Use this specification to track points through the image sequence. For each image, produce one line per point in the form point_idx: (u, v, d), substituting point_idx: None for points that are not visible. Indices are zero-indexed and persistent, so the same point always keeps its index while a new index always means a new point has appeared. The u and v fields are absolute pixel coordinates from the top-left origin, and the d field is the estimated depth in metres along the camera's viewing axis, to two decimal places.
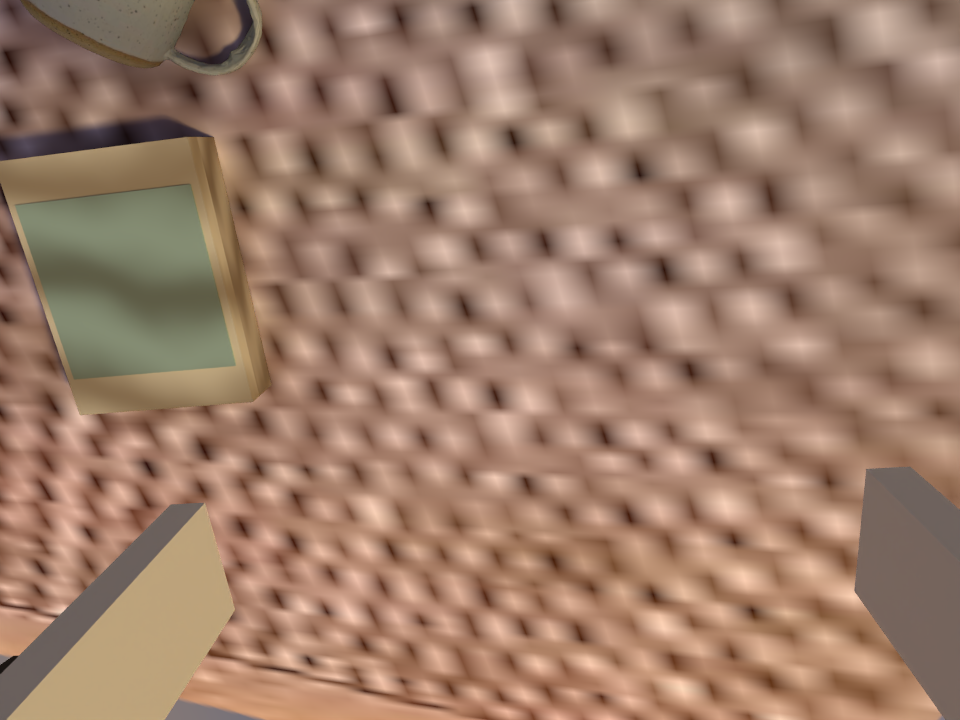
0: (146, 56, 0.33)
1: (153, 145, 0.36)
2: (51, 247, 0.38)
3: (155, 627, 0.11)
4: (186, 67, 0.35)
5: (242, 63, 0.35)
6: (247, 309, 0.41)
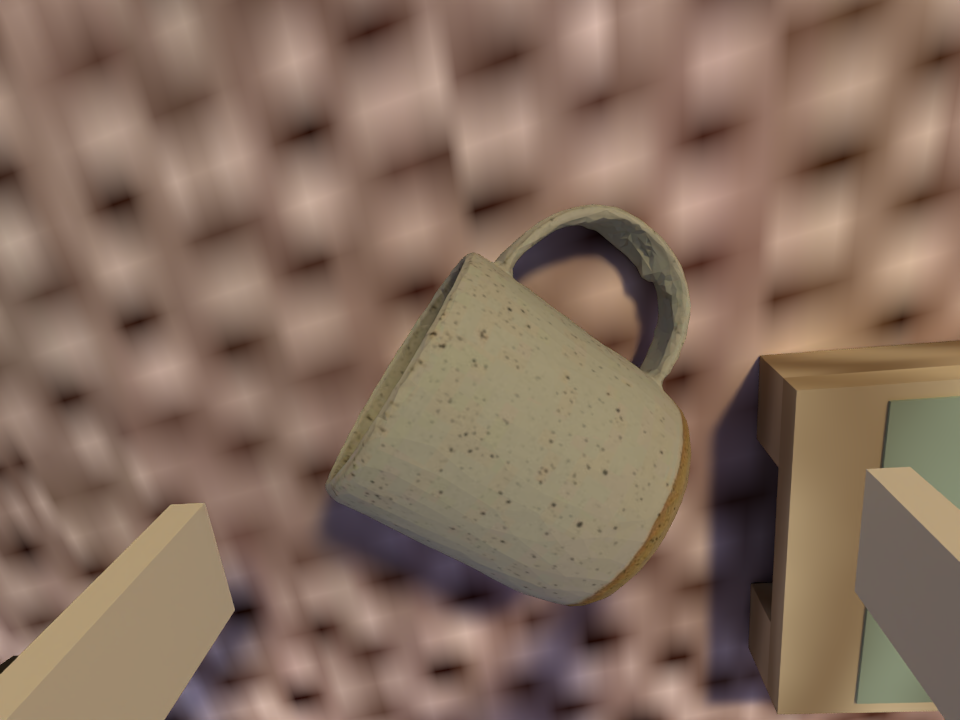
0: (677, 414, 0.17)
1: (800, 456, 0.18)
2: None
3: (155, 627, 0.11)
4: (677, 354, 0.18)
5: (671, 252, 0.18)
6: None
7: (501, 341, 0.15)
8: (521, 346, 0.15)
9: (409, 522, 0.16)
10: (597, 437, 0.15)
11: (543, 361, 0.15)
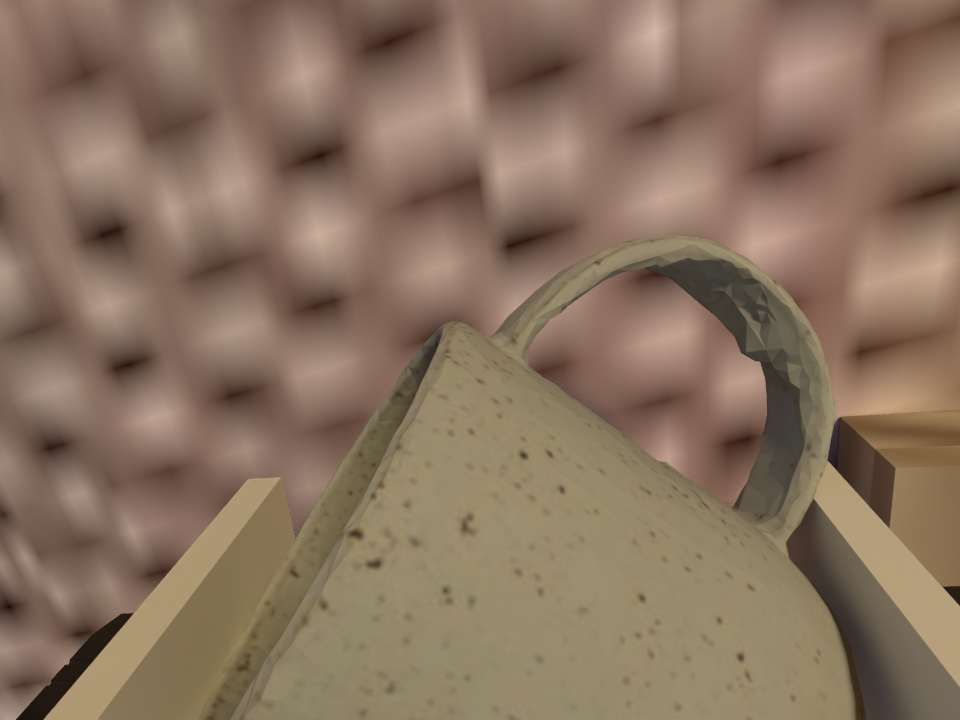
0: (832, 626, 0.09)
1: None
2: None
3: (246, 590, 0.12)
4: (812, 492, 0.11)
5: (803, 317, 0.11)
6: None
7: (504, 536, 0.07)
8: (549, 539, 0.07)
9: None
10: None
11: (593, 568, 0.07)
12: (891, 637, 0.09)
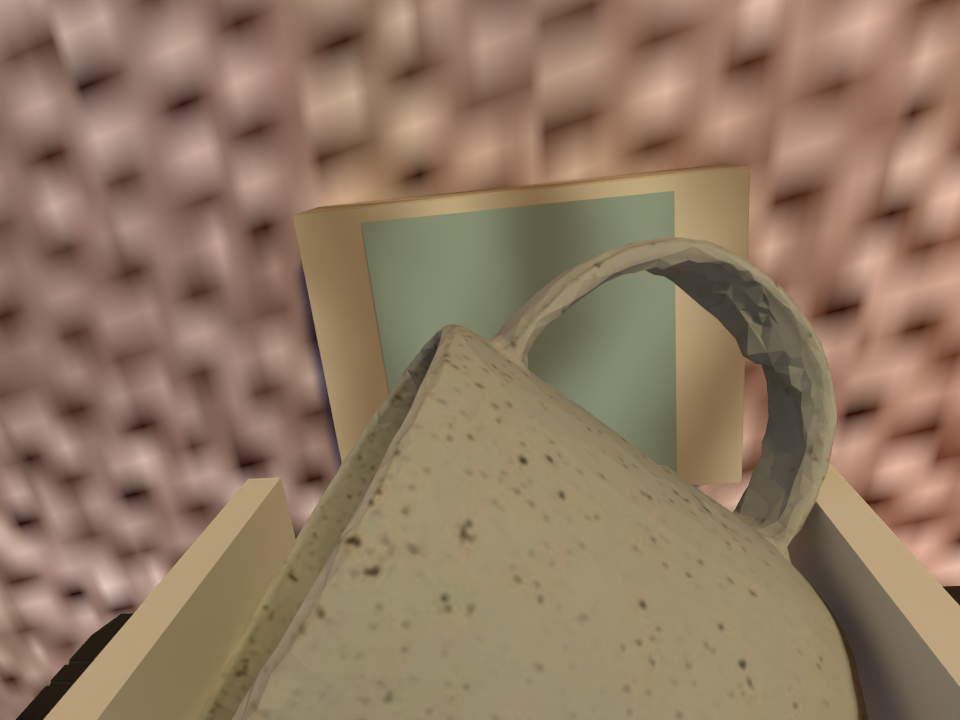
0: (834, 631, 0.09)
1: (309, 272, 0.24)
2: None
3: (246, 590, 0.12)
4: (814, 496, 0.11)
5: (805, 320, 0.11)
6: (579, 180, 0.24)
7: (504, 542, 0.07)
8: (548, 546, 0.07)
9: None
10: None
11: (593, 574, 0.07)
12: (891, 637, 0.09)
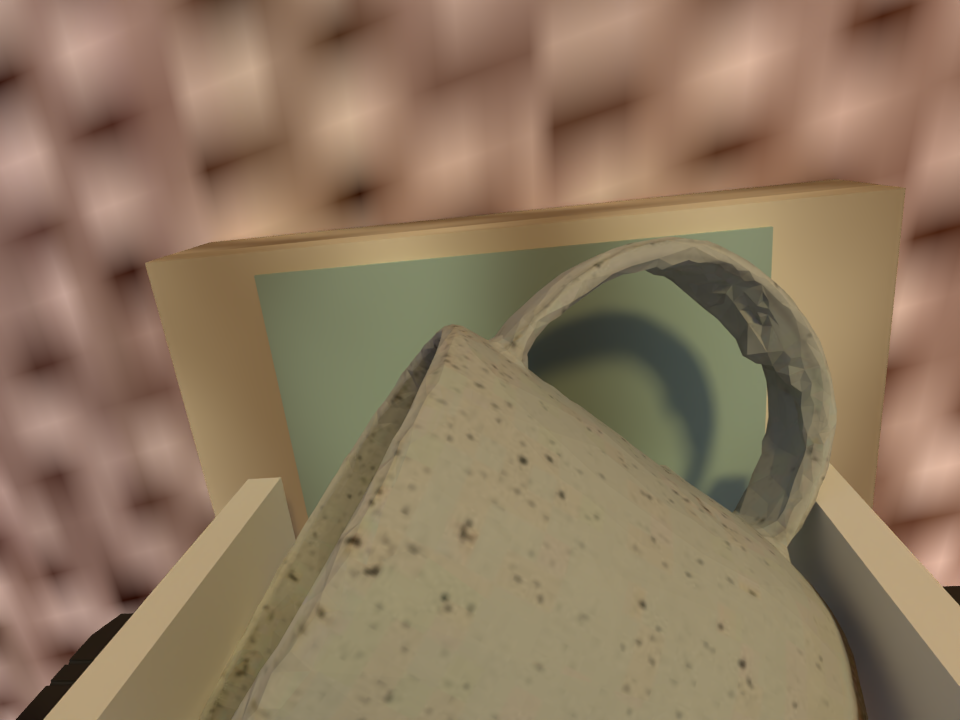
0: (834, 631, 0.09)
1: (178, 351, 0.15)
2: None
3: (246, 590, 0.12)
4: (814, 496, 0.11)
5: (805, 320, 0.11)
6: (607, 205, 0.15)
7: (504, 541, 0.07)
8: (548, 545, 0.07)
9: None
10: None
11: (593, 574, 0.07)
12: (892, 637, 0.09)
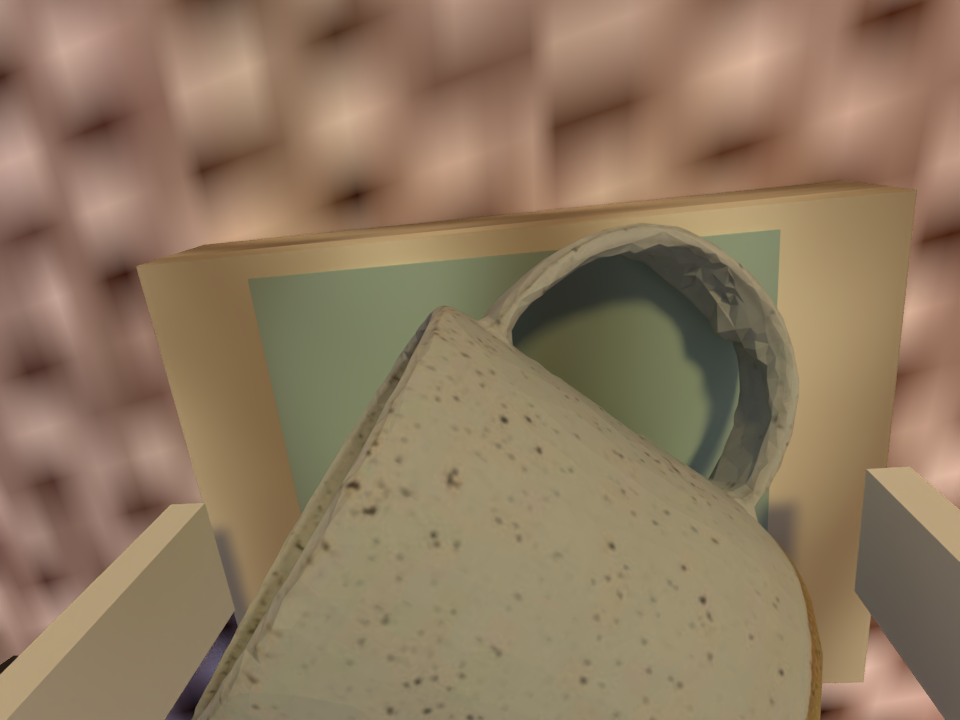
0: (793, 578, 0.10)
1: (170, 356, 0.15)
2: None
3: (155, 627, 0.11)
4: (779, 461, 0.11)
5: (768, 298, 0.11)
6: (610, 207, 0.15)
7: (487, 488, 0.08)
8: (526, 493, 0.08)
9: None
10: (669, 661, 0.08)
11: (566, 519, 0.08)
12: None
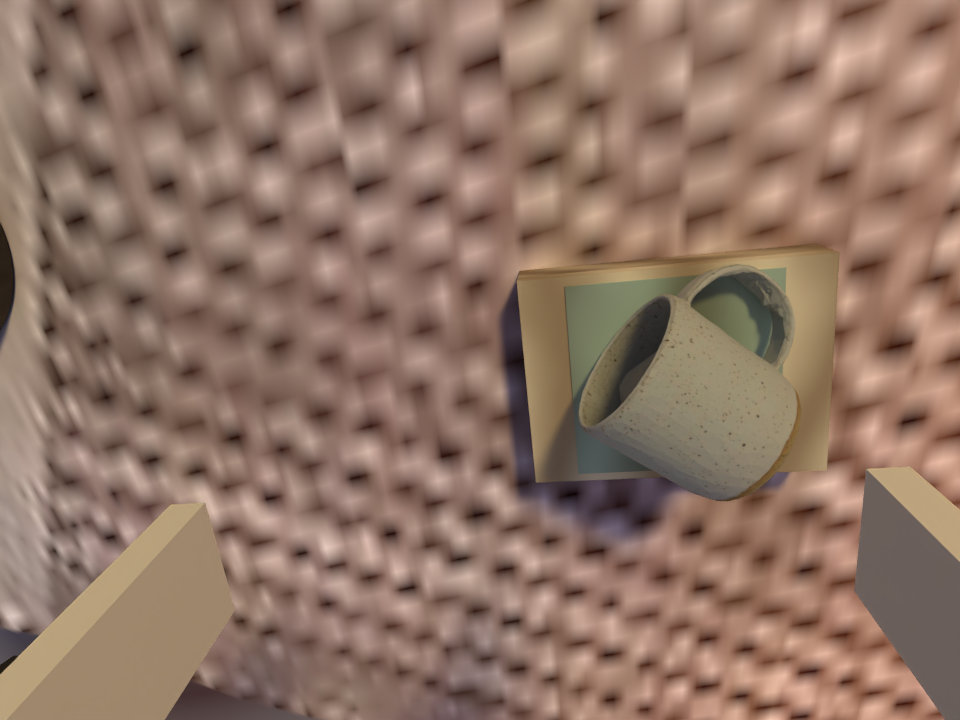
0: (791, 387, 0.29)
1: (524, 319, 0.34)
2: None
3: (155, 627, 0.11)
4: (787, 352, 0.31)
5: (783, 291, 0.31)
6: (712, 255, 0.34)
7: (700, 344, 0.27)
8: (710, 347, 0.27)
9: (644, 445, 0.28)
10: (753, 397, 0.27)
11: (721, 355, 0.27)
12: None
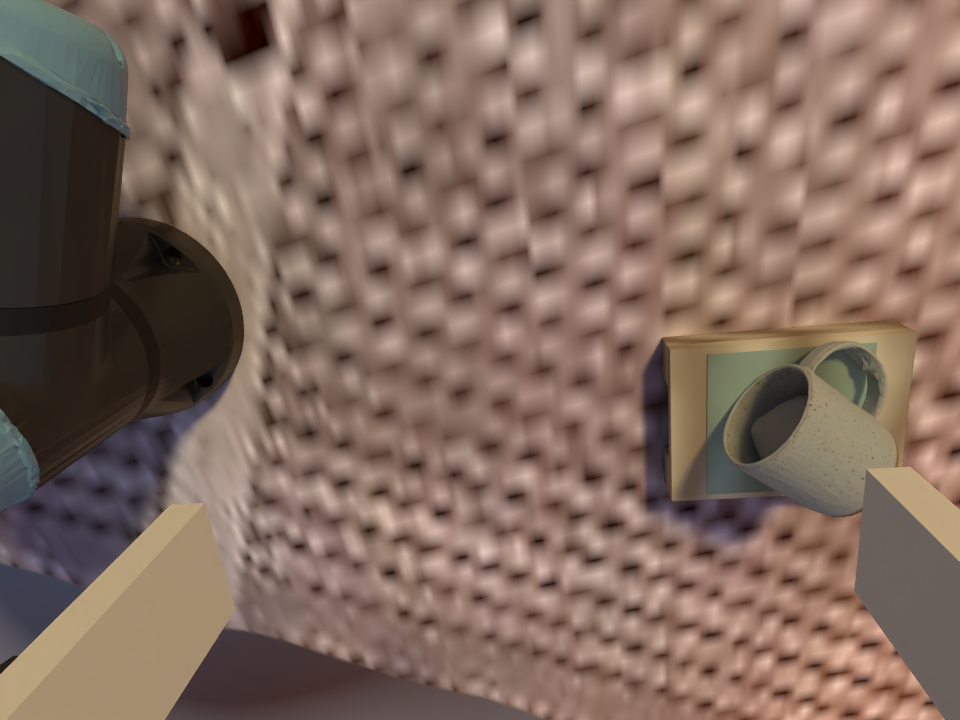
0: None
1: (673, 378, 0.44)
2: (743, 475, 0.46)
3: (155, 627, 0.11)
4: (882, 406, 0.41)
5: (879, 361, 0.41)
6: (816, 329, 0.45)
7: (831, 407, 0.38)
8: (838, 408, 0.38)
9: (788, 479, 0.39)
10: (868, 443, 0.38)
11: (846, 414, 0.38)
12: None
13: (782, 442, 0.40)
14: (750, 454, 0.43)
